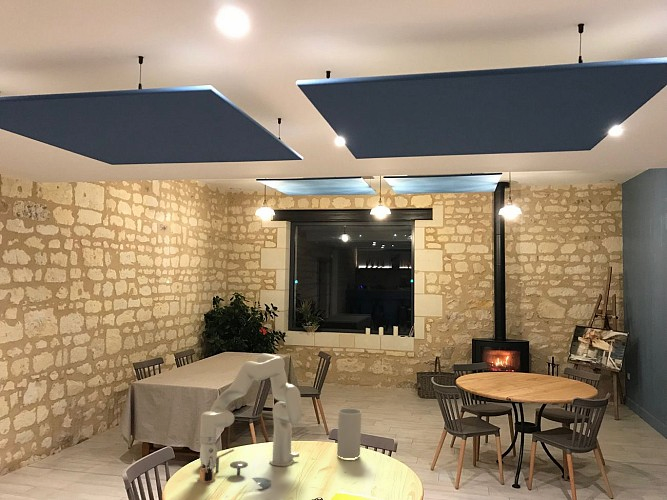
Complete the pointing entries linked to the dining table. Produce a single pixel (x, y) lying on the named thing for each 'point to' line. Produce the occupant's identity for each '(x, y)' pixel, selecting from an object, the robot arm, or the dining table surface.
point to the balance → (234, 465)
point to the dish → (262, 482)
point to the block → (202, 475)
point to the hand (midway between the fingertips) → (206, 478)
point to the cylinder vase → (349, 433)
